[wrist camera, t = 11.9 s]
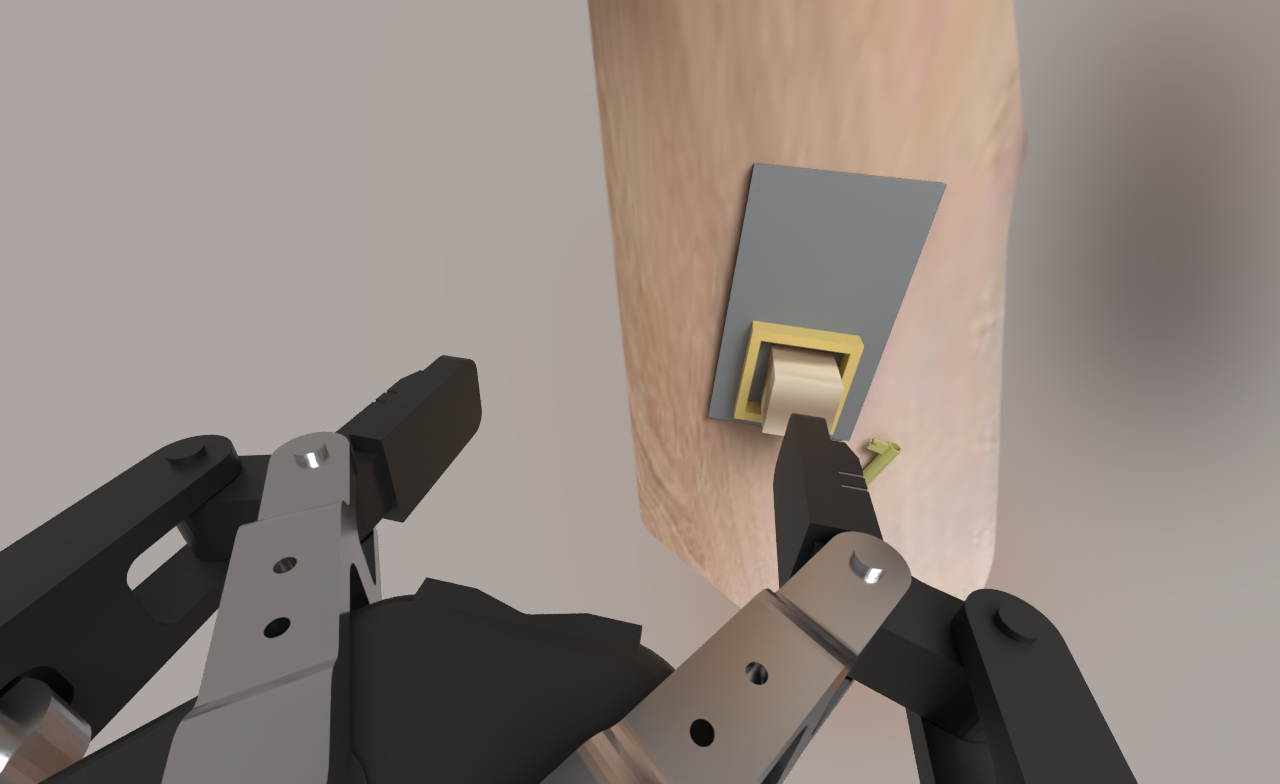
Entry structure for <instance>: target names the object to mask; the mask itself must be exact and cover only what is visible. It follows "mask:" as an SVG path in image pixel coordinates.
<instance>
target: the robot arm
mask: <svg viewBox="0 0 1280 784" xmlns="http://www.w3.org/2000/svg"><path fill="white" fill-rule="evenodd" d="M481 416H482V408H481V400H480V393H479V384H478V376H477V368H476V365H475V362H474V361H473V360H471V359H465V358H459V357H452V356H446V355H443V356H440V357H439V358H438V359H436V360H435V361H434V362H433V363H432V364H431V365H429V367H427V368H426V369H425V370H423V371H421V370H420V371H418V372H416V373H413V374H411V375H409V376H407V377H404V378H402V379H400V380H399V381H398V382H397V383H395V384H394V385H393V386H392V387H391V388H389V389H388V390H387V393H383V394H382V395H381V396H380V397H378V398H377V399H376V402H372V403H371V404H370V405H369V406H367V407H366V408H365V409H364V410H363V411H361V412H360V413H359V414H357V415H356V416H355V417H354V418H353V419H351V420H350V421H349V422H348V423H346V425H344V426H343V427H341V428H340V429H339V430H338V431H337V432H335V433H333V432H317V433H311V434H306V435H303V436H300V437H297V438H295V439H292V440H290V441H288V442H286V443H285V444H284V445H282V446H280V447H279V448H278V449H277V450H276V451H275V452H274V453H273V454H272V455H254V456H253V455H252V456H238V455H237V453H236V450H235V448H234V446H233V444H232V442H231V441H230V440H229V439H228V438H226V437H224V436H219V435H202V436H195V437H190V438H186V439H182V440H179V441H176V442H174V443H171V444H169V445H167V446H165V447H163V448H161V449H159V450H157V451H156V452H154V453H153V454H151V455H150V456H148V457H146V458H145V459H143V460H142V461H140V462H139V463H137V464H135V465H134V466H132V467H131V468H129V469H128V470H126V471H125V472H123V473H122V474H120V475H118V476H117V477H115V478H114V479H112V480H111V481H109V482H108V483H106V484H105V485H103V486H101V487H100V488H98V489H97V490H95V491H94V492H92V493H91V494H89V495H87V496H86V497H84V498H83V499H81V500H80V501H78V502H77V503H75V504H74V505H72V506H70V507H69V508H67V509H66V510H64V511H63V512H61V513H60V514H58V515H57V516H55V517H53V518H52V519H50V520H49V521H47V522H46V523H44V524H43V525H41V526H39V527H38V528H36V529H35V530H33V531H32V532H30V533H29V534H27V535H25V536H24V537H22V538H21V539H19V540H18V541H16V542H15V543H13V544H12V545H10V546H9V547H7V548H5V549H4V550H2V551H1V552H0V784H782V783H783V781H784V780H785V779H786V777H787V775H788V774H789V773H790V771H791V769H792V768H793V767H794V765H795V763H796V762H797V760H798V759H799V757H800V756H801V754H802V753H803V751H804V749H805V748H806V747H807V745H808V744H809V743H810V741H811V740H812V738H813V737H814V736H815V734H816V733H817V731H818V730H819V729H820V727H821V726H822V725H823V723H824V722H825V721H826V719H827V718H828V716H829V715H830V714H831V712H832V711H833V709H834V708H835V707H836V705H837V704H838V703H839V701H840V700H841V699H842V697H843V696H844V694H845V693H846V692H847V690H848V689H849V688H850V686H851V685H852V683H853V682H854V681H855V680H856V681H858V682H860V683H862V684H864V685H865V686H867V687H869V688H871V689H873V690H874V691H876V692H878V693H880V694H882V695H884V696H885V697H887V698H889V699H891V700H893V701H895V702H897V703H898V704H900V705H902V706H904V707H905V708H906V713H907V718H908V723H909V728H910V733H911V739H912V744H913V749H914V754H915V759H916V764H917V769H918V774H919V779H920V784H1138V783H1137V781H1136V779H1135V777H1134V775H1133V773H1132V771H1131V770H1130V768H1129V766H1128V764H1127V762H1126V760H1125V758H1124V756H1123V754H1122V752H1121V750H1120V748H1119V746H1118V744H1117V742H1116V740H1115V738H1114V736H1113V735H1112V732H1111V731H1110V729H1109V727H1108V725H1107V723H1106V721H1105V719H1104V717H1103V715H1102V713H1101V711H1100V709H1099V707H1098V705H1097V703H1096V701H1095V700H1094V697H1093V695H1092V694H1091V692H1090V690H1089V688H1088V686H1087V684H1086V682H1085V680H1084V678H1083V676H1082V674H1081V672H1080V670H1079V668H1078V666H1077V664H1076V662H1075V660H1074V658H1073V656H1072V655H1071V653H1070V651H1069V649H1068V647H1067V645H1066V643H1065V641H1064V639H1063V637H1062V636H1061V634H1060V633H1059V631H1058V630H1057V628H1056V627H1055V626H1054V625H1053V624H1052V623H1051V622H1050V621H1049V620H1048V618H1047V617H1045V616H1044V615H1043V614H1042V613H1041V612H1040V611H1038V610H1037V609H1036V608H1034V607H1033V606H1031V605H1030V604H1028V603H1027V602H1025V601H1024V600H1022V599H1020V598H1018V597H1016V596H1013V595H1011V594H1009V593H1006V592H1003V591H999V590H994V589H979V590H976V591H973V592H972V593H971V594H969V596H968V597H967V599H966V600H965V601H963V600H960V599H958V598H956V597H954V596H951V595H949V594H947V593H945V592H942V591H940V590H938V589H936V588H933V587H931V586H929V585H927V584H925V583H923V582H921V581H919V580H918V579H916V578H914V577H913V576H911V572H910V569H909V567H908V565H907V563H906V561H905V560H904V558H903V557H902V556H901V555H900V554H899V553H898V552H897V551H896V550H895V549H894V548H893V547H892V546H890V545H889V544H887V543H886V542H884V541H883V538H882V535H881V531H880V528H879V525H878V521H877V518H876V515H875V511H874V508H873V505H872V501H871V498H870V495H869V492H867V489H868V488H867V485H866V481H865V478H863V471H862V468H861V465H860V461H859V458H858V457H857V456H856V455H855V454H854V452H853V451H852V450H851V449H850V448H849V447H848V446H847V444H846V443H844V442H838V441H832V440H831V439H830V435H829V431H828V427H827V422H826V419H825V418H821V417H815V416H809V415H803V414H797V413H792V414H791V416H790V418H789V421H788V425H787V428H786V431H785V435H784V438H783V442H782V445H781V449H780V452H779V456H778V459H777V463H776V467H775V473H774V481H773V492H774V509H775V526H776V542H777V559H778V575H779V590H778V591H777V592H775V593H774V592H772V591H771V590H770V589H764V590H763V591H761V592H760V593H758V594H757V595H756V596H755V597H754V598H753V599H752V600H751V601H749V602H748V603H747V604H746V605H745V606H744V607H743V608H742V609H741V610H740V611H739V612H738V613H737V614H736V615H734V616H733V617H732V618H731V619H730V620H729V621H728V622H727V623H726V624H725V625H724V626H723V627H721V628H720V629H719V630H718V631H717V632H716V633H715V634H714V635H713V636H712V637H711V638H710V639H709V640H707V641H706V642H705V643H704V644H703V645H702V646H701V647H700V648H699V649H698V650H697V651H696V652H695V653H693V654H692V655H691V656H690V657H689V658H688V659H687V660H686V661H685V662H684V663H683V664H682V665H681V666H679V667H678V668H677V669H676V670H675V669H674V668H673V667H672V666H671V665H670V664H669V663H668V662H666V661H665V660H664V659H663V658H662V657H660V656H659V655H657V654H656V653H655V652H653V651H652V650H650V649H648V648H646V647H645V646H643V645H641V644H640V640H641V632H642V626H641V625H637V624H632V623H628V622H623V621H619V620H614V619H610V618H606V617H601V616H597V615H592V614H588V613H581V614H580V613H579V614H535V615H531V614H524V613H522V612H519V611H517V610H516V609H514V608H512V607H510V606H508V605H506V604H505V603H503V602H501V601H499V600H497V599H495V598H493V597H492V596H490V595H488V594H486V593H484V592H482V591H480V590H479V589H476V588H472V587H467V586H463V585H458V584H454V583H449V582H445V581H440V580H436V579H431V578H426V579H425V580H424V582H423V584H422V585H421V586H420V588H419V589H418V591H417V592H416V594H414V595H404V596H397V597H393V598H389V599H385V600H382V596H381V582H380V565H379V549H378V535H377V531H376V528H375V526H376V525H377V524H378V523H379V521H380V520H381V519H382V518H384V519H388V520H393V521H398V522H404V521H405V520H406V519H407V517H408V516H409V515H410V514H411V512H412V511H413V510H414V509H415V507H416V506H417V505H418V504H419V503H420V501H421V500H422V499H423V498H424V496H425V495H426V494H427V493H428V491H429V490H430V489H431V488H432V486H433V485H434V484H435V483H436V481H437V480H438V479H439V478H440V476H441V475H442V474H443V473H444V471H445V470H446V469H447V468H448V467H449V465H450V464H451V463H452V461H453V460H454V459H455V458H456V457H457V456H458V454H459V453H460V452H461V451H462V449H463V448H464V447H465V446H466V444H467V443H468V442H469V441H470V439H471V438H472V437H473V436H474V434H475V433H476V432H477V430H478V428H479V425H480V421H481ZM175 526H177V528H178V529H179V531H180V533H181V534H182V536H183V538H184V539H185V540H186V542H187V544H186V545H185V546H184V547H183V548H181V549H180V550H179V551H178V552H177V553H176V554H174V555H173V556H172V557H171V558H170V559H169V560H167V561H166V562H165V563H164V564H163V565H162V566H160V567H159V568H158V569H157V570H156V571H155V572H153V573H152V574H151V575H150V576H149V577H148V578H146V579H145V580H144V581H143V582H142V583H141V584H139V585H138V586H137V587H136V588H135V589H134V590H131V589H130V588H129V586H128V584H127V573H128V570H129V568H130V566H131V564H132V563H133V561H134V560H135V559H136V558H137V557H138V556H139V555H140V554H141V553H143V552H144V551H145V550H146V549H148V548H149V547H150V546H151V545H153V544H154V543H155V542H156V541H158V540H159V539H160V538H161V537H163V536H164V535H165V534H166V533H167V532H168V531H170V530H171V529H172V528H174V527H175ZM218 608H219V610H218V614H217V619H216V623H215V627H214V631H213V636H212V640H211V644H210V648H209V653H208V657H207V661H206V665H205V669H204V674H203V678H202V682H201V686H200V690H199V695H198V696H196V697H195V698H193V699H191V700H189V701H187V702H185V703H184V704H182V705H180V706H178V707H176V708H174V709H172V710H171V711H169V712H167V713H165V714H163V715H161V716H160V717H158V718H156V719H154V720H152V721H151V722H149V723H147V724H145V725H143V726H141V727H139V728H138V729H136V730H134V731H132V732H130V733H129V734H127V735H125V736H123V737H121V738H119V739H118V740H116V741H114V742H112V743H110V744H108V745H106V746H105V747H103V748H101V749H100V750H97V751H95V752H94V753H92V754H90V755H88V756H86V757H85V758H83V756H84V755H85V753H86V751H87V749H88V746H89V743H90V741H92V739H93V738H94V737H95V736H96V735H97V734H98V733H99V732H100V731H101V730H102V729H103V728H104V727H105V726H106V725H107V724H108V723H109V722H110V721H111V719H112V718H114V717H115V715H116V714H117V713H118V712H119V711H120V710H121V709H122V708H123V707H124V706H125V705H126V704H127V703H128V702H129V701H130V700H131V699H132V698H133V697H134V696H135V695H136V694H137V692H138V691H139V690H140V689H141V688H142V687H143V686H144V685H145V684H146V683H147V682H148V681H149V680H150V679H151V678H152V677H153V676H154V675H155V674H156V673H157V672H158V670H160V668H161V667H162V666H163V665H164V664H165V663H166V662H167V661H168V660H169V659H170V658H171V657H172V656H173V655H174V654H175V653H176V652H177V651H178V650H179V649H180V648H181V646H183V645H184V644H185V642H186V641H187V640H188V639H189V638H190V637H191V636H192V635H193V634H194V633H195V632H196V631H197V630H198V629H199V628H200V627H201V626H202V625H203V624H204V623H205V622H206V621H207V620H208V618H209V617H210V616H211V615H212V614H213V613H214V612H215V611H216V610H217V609H218ZM82 758H83V759H82Z"/></svg>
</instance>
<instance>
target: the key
mask: <svg viewBox="0 0 1280 784" xmlns="http://www.w3.org/2000/svg"><path fill="white" fill-rule="evenodd" d="M867 449H870V450H872V451H875V452H877V453H879V454H878V455H877V457H876V458H875V459H874V460H873V461H872V462H871V463H870V464H869V465H868V466H867V467H866V468H865V469H864V470H863V478H865V481H866V485H867V486H868V485H869V484H870V483H871V482H872V480H873V479H874V478H875V477H876V476H877V475H878V474H879V473H880V472H881V471H882V470H883V469H884V468H885V467H886V466H887V465H888V464H889V463H890V462H891V461H892V460H893V459H894V458H895V457H896V456H897V455H898V454H899V453H900V452H901V451H902V449H901V447H900V446H899V445H898V444H897V443H895V442H890V443H889V444H888V443H886V442H883V441H881V440H878V439H876V438H873V439H872V443H868V445H867Z"/></svg>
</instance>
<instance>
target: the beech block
mask: <svg viewBox="0 0 1280 784" xmlns="http://www.w3.org/2000/svg"><path fill="white" fill-rule="evenodd" d="M843 392H844V386H843V383H842V380H841V376H840V373H839V370H838V367H837V364H836V361H835V358H834V355H833V353H831V352H824V351H816V350H809V349H802V348H794V347H787V346H780V345H772V347H771V351H770V356H769V360H768V364H767V369H766V373H765V378H764V382H763V386H762V391H761V414H762V433H768V434H774V435H780V436H784V435H785V431H786V428H787V425H788V421H789V418H790V416H791V414H792V413H797V414H803V415H809V416H815V417H821V418H825V419H826V422H827V427H828V431H829V434H830V431H831V428H832V425H833V422H834V419H835V416H836V413H837V410H838V407H839V404H840V401H841V398H842V395H843Z"/></svg>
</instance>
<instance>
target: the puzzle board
mask: <svg viewBox="0 0 1280 784" xmlns="http://www.w3.org/2000/svg"><path fill="white" fill-rule="evenodd" d="M946 186H947V185H946V184H944V183H940V182H930V181H921V180H911V179H902V178H892V177H883V176H873V175H864V174H854V173H845V172H835V171H826V170H816V169H807V168H797V167H788V166H778V165H769V164H759V163H754V167H753V172H752V178H751V183H750V189H749V194H748V200H747V205H746V211H745V216H744V222H743V227H742V233H741V238H740V244H739V249H738V255H737V260H736V266H735V271H734V277H733V282H732V288H731V293H730V299H729V304H728V310H727V315H726V320H725V326H724V331H723V337H722V342H721V348H720V353H719V359H718V364H717V370H716V375H715V381H714V386H713V392H712V397H711V403H710V408H709V415H708V417H710V418H716V419H722V420H728V421H733V422H739V423H745V424H751V425H757V426H762V414H761V391H762V386H763V382H764V378H765V373H766V369H767V364H768V360H769V356H770V351H771V347H772V345H780V346H787V347H794V348H802V349H809V350H816V351H824V352H831V353H833V355H834V358H835V361H836V364H837V367H838V370H839V373H840V376H841V380H842V383H843V386H844V392H843V395H842V398H841V401H840V404H839V407H838V410H837V413H836V416H835V419H834V422H833V425H832V428H831V431H830V434H829V435H830V438H834V439H840V440H846V441H849V440H850V438H851V435H852V432H853V430H854V427H855V424H856V422H857V419H858V417H859V414H860V411H861V409H862V406H863V403H864V401H865V398H866V396H867V393H868V390H869V388H870V385H871V382H872V380H873V377H874V375H875V372H876V369H877V367H878V364H879V361H880V359H881V356H882V354H883V351H884V348H885V346H886V343H887V340H888V338H889V335H890V333H891V330H892V327H893V325H894V322H895V319H896V317H897V314H898V312H899V309H900V306H901V304H902V301H903V298H904V296H905V293H906V291H907V288H908V285H909V283H910V280H911V277H912V275H913V272H914V270H915V267H916V264H917V262H918V259H919V256H920V254H921V251H922V249H923V246H924V243H925V241H926V238H927V235H928V233H929V230H930V228H931V225H932V222H933V220H934V217H935V214H936V212H937V209H938V207H939V204H940V201H941V199H942V196H943V193H944V191H945V188H946Z"/></svg>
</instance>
